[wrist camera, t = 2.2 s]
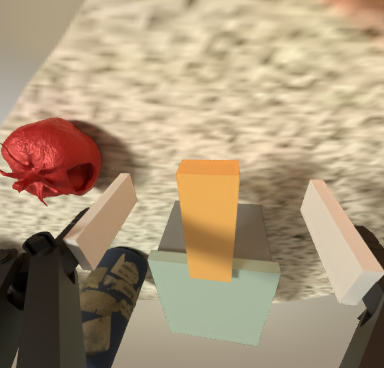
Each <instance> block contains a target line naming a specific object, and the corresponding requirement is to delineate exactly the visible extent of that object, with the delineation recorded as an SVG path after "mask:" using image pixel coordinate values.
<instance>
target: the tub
mask: <svg viewBox="0 0 384 368" xmlns="http://www.w3.org/2000/svg"><path fill="white" fill-rule="evenodd" d="M158 251H165V252H175V253H186V246H185V238H184V230H183V223H182V215H181V208H180V201H175V203H174V206H173V209H172V211H171V214H170V217H169V220H168V223H167V225H166V228H165V231H164V234H163V237H162V239H161V242H160V245H159V248H158ZM186 254H187V253H186ZM233 258H238V259H248V260H259V261H269V262H272V260H271V255H270V250H269V245H268V240H267V234H266V229H265V224H264V219H263V214H262V209H261V205H251V204H237V216H236V228H235V241H234V253H233Z"/></svg>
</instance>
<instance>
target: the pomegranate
mask: <svg viewBox="0 0 384 368" xmlns="http://www.w3.org/2000/svg"><path fill="white" fill-rule="evenodd" d="M0 144H1V143H0ZM1 145H2V149H1V153H2V156H3V158H4V159H5V160H6V161H7V163H8V164H9V166H10V168H11V169H12V173H5V172H4V171H2V170H0V173H1V174H2V175H3V176H8V177H11V178H15V179H18V181H17V182H15V183H14V184H13V185H12V188H13V189H15V190H18V192H19V193H20V192H21V191H23V190H26V191H27V192H29V193H31V194H33V195H36V196H38V198H39V200H40V201H41V202H43V203H44V204H45V205H46V203H45V202H44V201H43V198H46V197H55V196H59V195H62V194H65V195H69V194H74V195H78V196H82V195H84V194H86V193H87V192H88V191H90V190H91V189H92V188H93V187H94V185H95V183H96V181H97V178H98V176H99V174H100V170H101V154H100V151H99V149H98V147H97V145H96V143H95V142H94V140H93V139H92V138H91V137H90V136H89V135H86V134H84V133H82V132H81V131H79V130H78V129H77V128H76V127H75V126H74V125H73V124H72V123H71V122H69V121H67V120H64V119H61V118H49V119H46V120H42V121H38V122H36V123H32V124H27V125H24V126H21V127H19V128H17V129H16V130H15V131H14V132H12V133H11V134H10V136H9V137H8V138H7V139H6V140H5V141H4V143H3V144H1ZM46 206H47V205H46Z"/></svg>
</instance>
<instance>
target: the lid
mask: <svg viewBox="0 0 384 368" xmlns="http://www.w3.org/2000/svg"><path fill="white" fill-rule="evenodd" d="M176 177H177V185H178V192H179V200H180V208H181V215H182V223H183V230H184V238H185V246H186V253H187V254H186V253H175V252H165V251H154V250H151V252H150V255H149V257H148V263H149V266H150V270H151V273H152V276H153V279H154V282H155V285H156V288H157V291H158V295H159V298H160V301H161V304H162V307H163V310H164V313H165V316H166V319H167V322H168V325H169V329H170V332H174V333H180V334H186V335H192V336H198V337H204V338H210V339H216V340H223V341H228V342H234V343H240V344H246V345H252V346H257V345H258V342H259V340H260V336H261V333H262V331H263V328H264V325H265V321H266V318H267V316H268V313H269V310H270V307H271V304H272V301H273V298H274V295H275V292H276V289H277V286H278V283H279V280H280V277H281V270H280V266H279V262H269V261H259V260H248V259H238V258H233V253H234V241H235V228H236V216H237V204H238V192H239V180H240V171H239V160H182V161H181V164H180V166H179V168H178V171H177V173H176Z"/></svg>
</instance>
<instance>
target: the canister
mask: <svg viewBox="0 0 384 368" xmlns="http://www.w3.org/2000/svg"><path fill="white" fill-rule="evenodd" d="M146 274H147V265H146V263H145V261H144V260H143V258H141V257H140V256H139V255H138V254H136V253H135V252H133V251H130V250H127V249H124V248H111V249H108V250H107V251H106V252H105V254H104V256H103V257H102V259H101V260H100V262H99V264H98V265H97V267H96V268H95V270H94V271H91V273H90V274H89V276H88V278H87V279H86V281H85V282H84V284H83V286H82V287H81V289H80V290H79V296H80V306H81V315H82V325H83V335H84V345H85V355H86V365H87V368H111V366H112V364H113V361H114V358H115V356H116V353H117V350H118V348H119V345H120V343H121V340H122V338H123V335H124V332H125V329H126V327H127V324H128V322H129V319H130V317H131V314H132V312H133V309H134V307H135V305H136V301H137V298H138V296H139V293H140V290H141V287H142V285H143V282H144V279H145V276H146Z"/></svg>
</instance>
